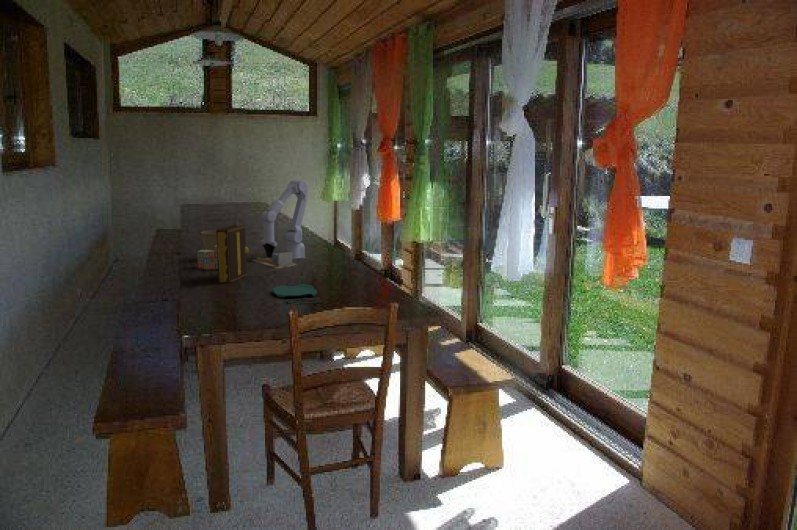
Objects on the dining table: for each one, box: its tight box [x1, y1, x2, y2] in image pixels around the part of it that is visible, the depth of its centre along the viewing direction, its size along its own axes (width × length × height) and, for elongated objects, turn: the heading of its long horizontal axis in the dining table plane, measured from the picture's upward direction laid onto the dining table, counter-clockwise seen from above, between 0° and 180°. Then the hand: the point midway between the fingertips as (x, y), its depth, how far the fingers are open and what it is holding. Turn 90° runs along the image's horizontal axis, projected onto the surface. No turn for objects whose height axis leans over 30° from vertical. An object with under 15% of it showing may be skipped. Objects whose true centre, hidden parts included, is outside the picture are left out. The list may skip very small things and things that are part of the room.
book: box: [216, 224, 250, 284], centre depth 307 cm, size 22×8×25 cm, turn 168°
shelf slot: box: [251, 251, 299, 269], centre depth 346 cm, size 14×26×8 cm, turn 40°
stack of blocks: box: [196, 245, 218, 270], centre depth 332 cm, size 21×6×12 cm, turn 88°
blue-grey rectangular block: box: [272, 252, 279, 263], centre depth 342 cm, size 4×10×5 cm, turn 40°
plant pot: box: [200, 229, 217, 250], centre depth 353 cm, size 15×15×16 cm
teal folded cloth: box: [271, 283, 323, 306], centre depth 275 cm, size 20×30×2 cm, turn 18°
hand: (269, 257), depth 350 cm, fingers closed
